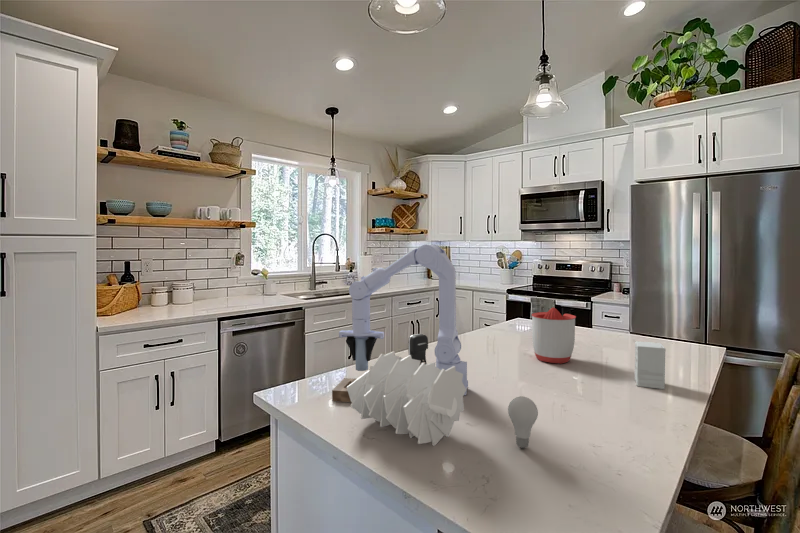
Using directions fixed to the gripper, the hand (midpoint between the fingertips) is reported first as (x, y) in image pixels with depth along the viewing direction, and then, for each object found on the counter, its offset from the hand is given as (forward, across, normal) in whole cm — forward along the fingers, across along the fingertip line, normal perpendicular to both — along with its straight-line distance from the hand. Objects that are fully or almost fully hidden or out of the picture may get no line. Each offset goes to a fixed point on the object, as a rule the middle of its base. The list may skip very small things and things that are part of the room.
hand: (361, 360), depth 130 cm
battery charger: (+7, -16, -18) cm, 25 cm away
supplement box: (+7, -89, -12) cm, 90 cm away
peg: (+3, 0, 0) cm, 3 cm away
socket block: (+7, -2, +13) cm, 15 cm away
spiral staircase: (+7, -20, +32) cm, 39 cm away
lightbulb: (+7, -46, +36) cm, 59 cm away
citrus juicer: (+7, -65, -36) cm, 75 cm away
